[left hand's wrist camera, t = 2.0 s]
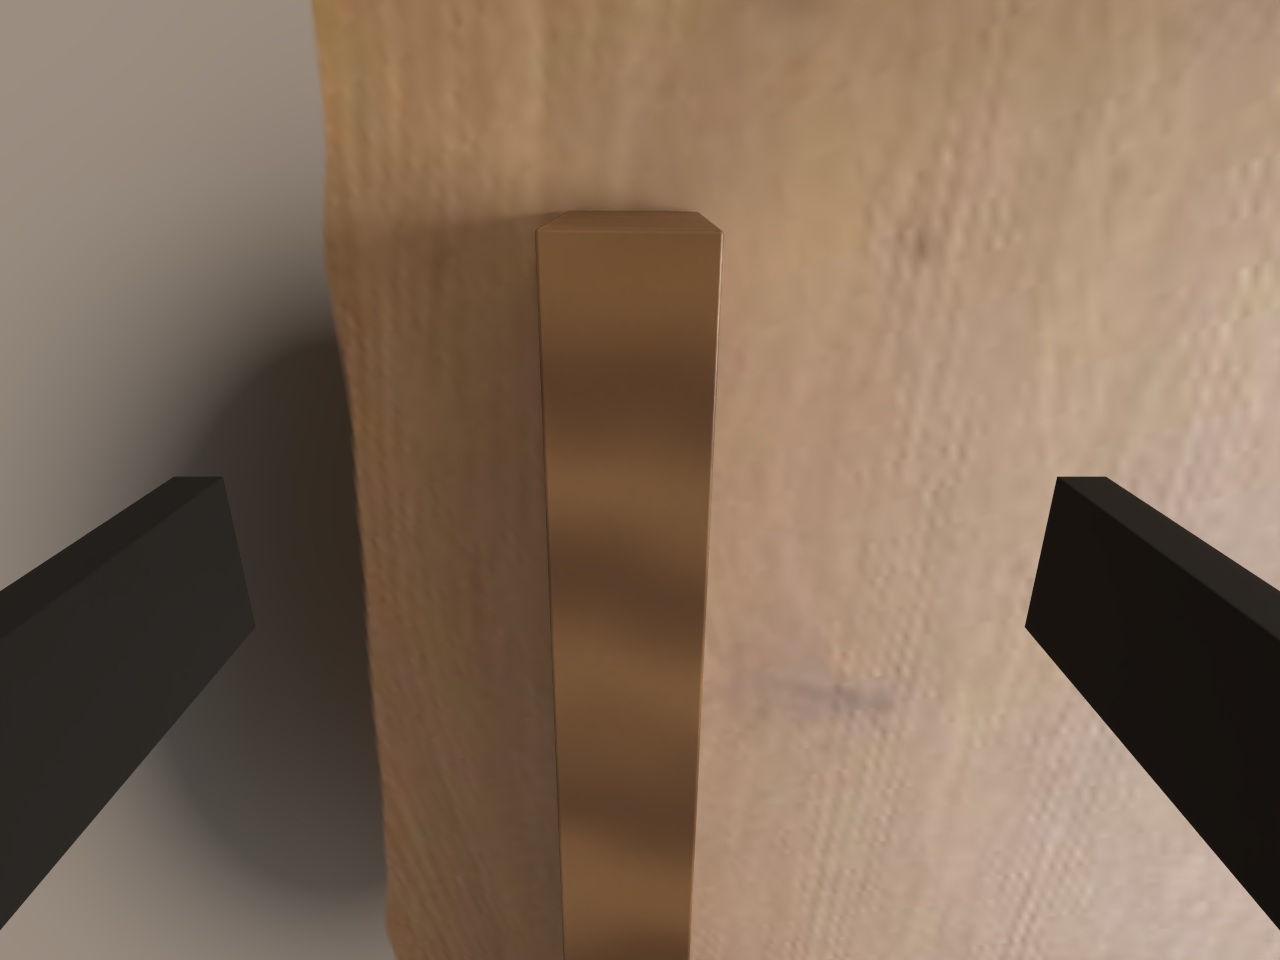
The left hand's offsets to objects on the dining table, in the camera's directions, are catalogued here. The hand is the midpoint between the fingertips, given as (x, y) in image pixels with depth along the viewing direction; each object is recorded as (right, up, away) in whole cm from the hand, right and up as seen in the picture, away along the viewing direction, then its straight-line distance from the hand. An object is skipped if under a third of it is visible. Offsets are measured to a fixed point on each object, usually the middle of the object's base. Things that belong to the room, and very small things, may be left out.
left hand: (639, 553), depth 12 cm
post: (0, -18, +25) cm, 31 cm away
